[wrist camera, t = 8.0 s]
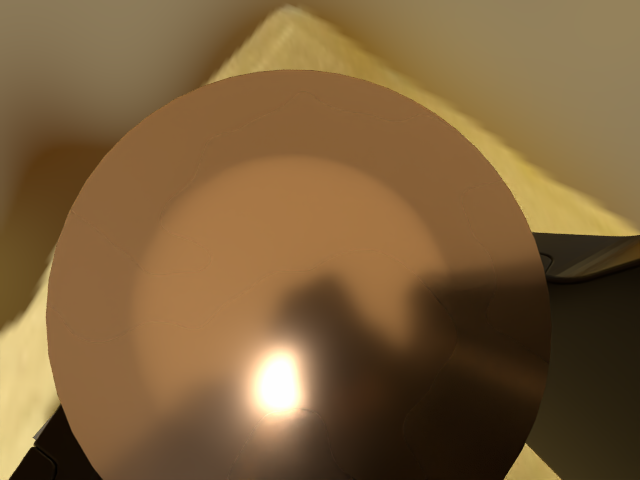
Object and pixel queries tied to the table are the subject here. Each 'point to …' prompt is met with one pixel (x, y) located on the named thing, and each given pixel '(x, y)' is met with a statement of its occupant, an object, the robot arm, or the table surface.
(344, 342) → the tan cylinder
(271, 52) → the table surface
